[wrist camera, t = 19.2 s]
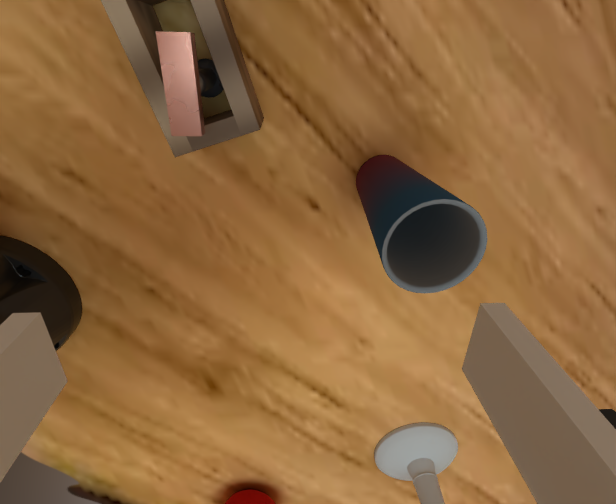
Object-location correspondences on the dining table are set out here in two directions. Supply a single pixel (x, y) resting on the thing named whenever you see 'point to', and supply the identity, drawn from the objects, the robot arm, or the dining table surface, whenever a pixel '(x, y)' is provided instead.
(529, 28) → the dining table surface
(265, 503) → the red apple
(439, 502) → the candlestick
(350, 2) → the dining table surface
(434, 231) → the cup
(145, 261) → the dining table surface
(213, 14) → the brown hollow block
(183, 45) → the mallet
